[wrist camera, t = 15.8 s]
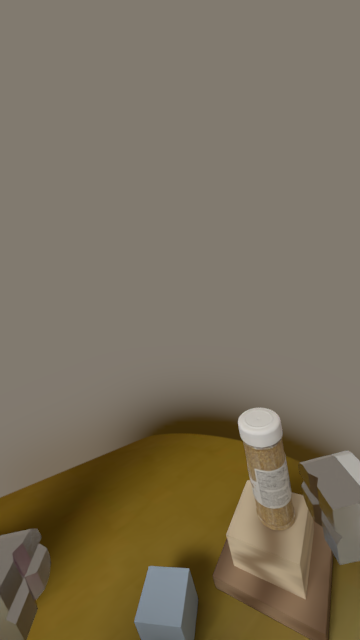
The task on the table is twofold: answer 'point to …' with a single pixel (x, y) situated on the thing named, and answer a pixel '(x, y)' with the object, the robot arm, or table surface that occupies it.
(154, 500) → the table surface
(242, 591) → the block stand
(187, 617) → the block
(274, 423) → the spice jar
